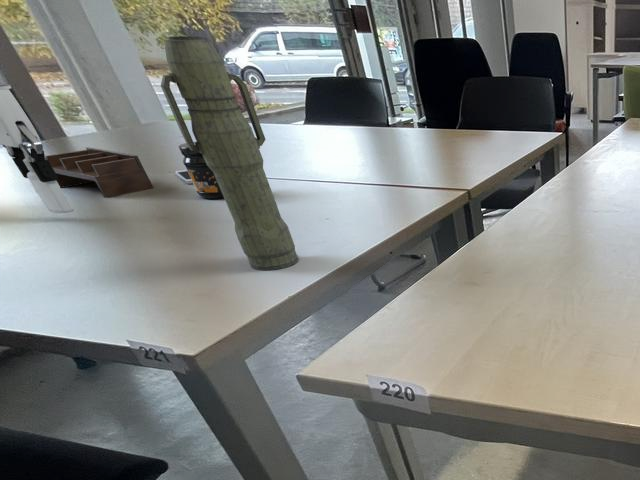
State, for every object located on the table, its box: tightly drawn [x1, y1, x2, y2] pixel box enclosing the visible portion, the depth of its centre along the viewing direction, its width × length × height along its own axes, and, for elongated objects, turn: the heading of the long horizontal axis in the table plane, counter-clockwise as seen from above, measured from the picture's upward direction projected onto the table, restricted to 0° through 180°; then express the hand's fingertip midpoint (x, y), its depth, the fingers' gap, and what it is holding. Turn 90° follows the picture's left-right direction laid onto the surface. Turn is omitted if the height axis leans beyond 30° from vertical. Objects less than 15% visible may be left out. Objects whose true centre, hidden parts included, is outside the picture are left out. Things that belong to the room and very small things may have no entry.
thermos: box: [160, 35, 300, 271], centre depth 90 cm, size 9×12×35 cm
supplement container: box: [178, 141, 224, 200], centre depth 134 cm, size 10×10×12 cm
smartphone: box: [174, 169, 193, 185], centre depth 151 cm, size 7×16×1 cm, turn 43°
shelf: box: [46, 146, 154, 198], centre depth 138 cm, size 12×22×8 cm, turn 65°
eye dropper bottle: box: [23, 153, 74, 214], centre depth 114 cm, size 4×6×12 cm
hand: (41, 178), depth 113 cm, fingers closed on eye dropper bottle, 5 cm apart
